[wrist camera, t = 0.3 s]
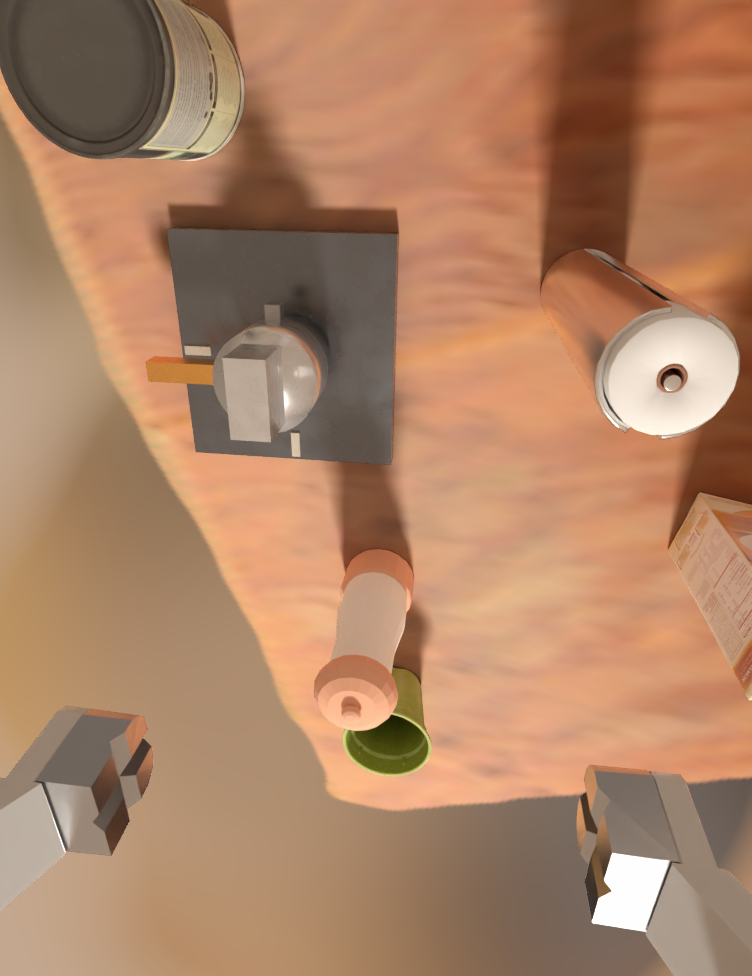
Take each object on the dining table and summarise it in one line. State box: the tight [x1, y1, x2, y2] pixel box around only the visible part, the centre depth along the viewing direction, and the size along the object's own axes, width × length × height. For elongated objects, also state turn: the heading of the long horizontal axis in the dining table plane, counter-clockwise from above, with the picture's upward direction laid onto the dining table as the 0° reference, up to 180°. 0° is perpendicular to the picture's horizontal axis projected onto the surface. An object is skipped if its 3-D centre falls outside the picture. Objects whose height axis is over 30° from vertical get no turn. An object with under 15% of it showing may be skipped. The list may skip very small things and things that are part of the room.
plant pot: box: [342, 667, 431, 776], centre depth 68 cm, size 9×9×9 cm
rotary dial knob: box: [146, 302, 328, 442], centre depth 47 cm, size 14×10×9 cm
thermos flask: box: [540, 249, 740, 440], centre depth 39 cm, size 6×6×25 cm
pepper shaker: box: [314, 549, 414, 731], centre depth 57 cm, size 7×7×19 cm
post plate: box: [167, 227, 399, 465], centre depth 53 cm, size 20×19×5 cm
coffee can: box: [0, 0, 245, 161], centre depth 41 cm, size 10×10×14 cm
